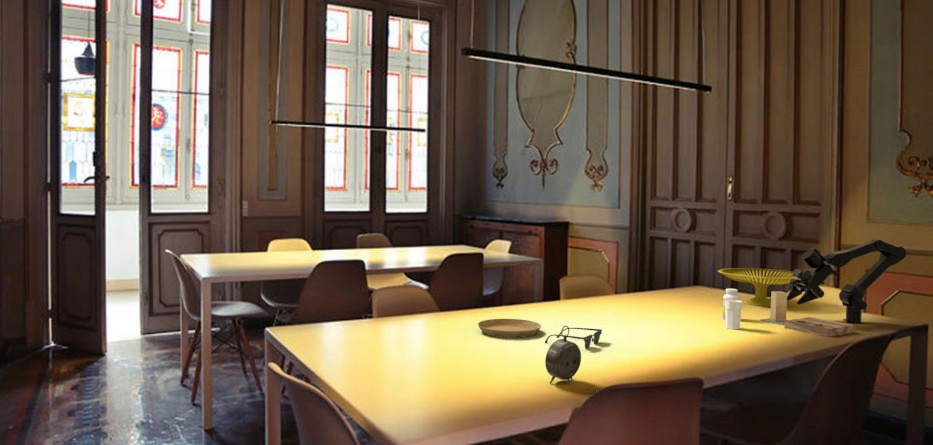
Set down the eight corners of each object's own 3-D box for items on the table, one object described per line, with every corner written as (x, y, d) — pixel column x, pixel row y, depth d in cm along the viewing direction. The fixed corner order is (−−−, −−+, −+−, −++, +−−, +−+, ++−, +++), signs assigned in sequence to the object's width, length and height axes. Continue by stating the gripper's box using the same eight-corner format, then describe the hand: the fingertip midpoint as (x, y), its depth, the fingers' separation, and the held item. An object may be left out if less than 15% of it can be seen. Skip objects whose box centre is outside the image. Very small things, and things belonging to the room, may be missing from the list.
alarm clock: (570, 376, 196) (571, 321, 195) (584, 381, 191) (585, 325, 191) (543, 383, 189) (544, 326, 188) (557, 388, 185) (558, 329, 184)
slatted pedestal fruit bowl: (726, 308, 310) (727, 276, 310) (709, 295, 350) (710, 266, 349) (819, 312, 304) (820, 279, 303) (791, 298, 343) (792, 269, 343)
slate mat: (775, 318, 289) (775, 317, 289) (796, 322, 280) (796, 321, 280) (760, 320, 284) (760, 319, 284) (781, 324, 275) (781, 323, 275)
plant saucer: (507, 323, 272) (507, 315, 272) (553, 333, 255) (554, 324, 255) (464, 332, 256) (464, 323, 255) (511, 343, 238) (511, 334, 238)
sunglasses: (559, 336, 250) (559, 323, 250) (602, 342, 241) (603, 328, 241) (540, 345, 236) (540, 331, 236) (585, 351, 227) (586, 337, 227)
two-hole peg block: (809, 324, 277) (809, 317, 277) (852, 332, 261) (853, 325, 261) (784, 328, 268) (784, 320, 268) (827, 336, 253) (828, 329, 253)
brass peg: (780, 319, 284) (781, 291, 283) (786, 321, 280) (787, 293, 279) (770, 319, 284) (771, 291, 283) (775, 321, 280) (776, 293, 279)
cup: (741, 327, 269) (742, 300, 268) (741, 330, 263) (742, 302, 262) (724, 325, 272) (725, 299, 271) (723, 328, 266) (724, 301, 265)
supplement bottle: (738, 318, 288) (739, 288, 287) (739, 321, 282) (740, 290, 281) (722, 317, 290) (723, 287, 290) (722, 319, 284) (723, 289, 283)
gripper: (794, 260, 290) (768, 285, 290) (817, 265, 271) (789, 292, 272) (812, 278, 290) (786, 303, 291) (836, 284, 272) (808, 311, 272)
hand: (792, 302), depth 281 cm, fingers open, 9 cm apart
